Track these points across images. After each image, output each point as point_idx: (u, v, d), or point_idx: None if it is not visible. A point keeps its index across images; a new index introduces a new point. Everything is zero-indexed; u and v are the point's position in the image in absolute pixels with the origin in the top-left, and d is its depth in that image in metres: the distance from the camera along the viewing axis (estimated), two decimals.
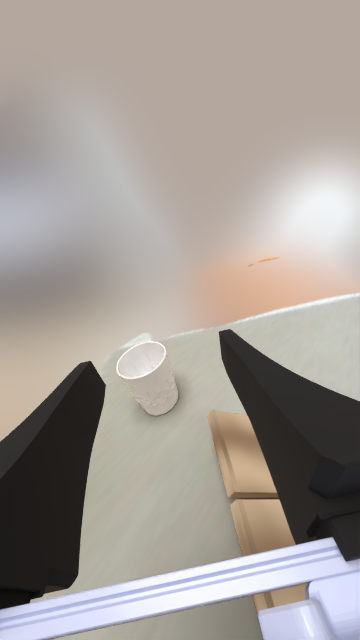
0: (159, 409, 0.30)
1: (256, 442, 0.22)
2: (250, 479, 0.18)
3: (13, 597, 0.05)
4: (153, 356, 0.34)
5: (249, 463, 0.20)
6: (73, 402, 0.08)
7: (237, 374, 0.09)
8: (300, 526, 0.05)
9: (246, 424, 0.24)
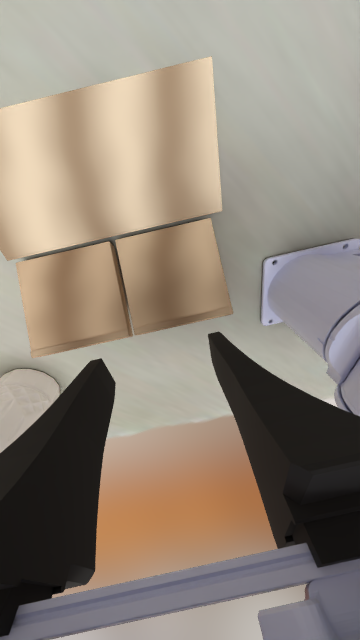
0: (49, 390, 0.23)
1: (62, 289, 0.16)
2: (111, 312, 0.15)
3: (36, 592, 0.05)
4: None
5: (93, 308, 0.15)
6: (86, 399, 0.08)
7: (224, 377, 0.09)
8: (280, 530, 0.05)
9: (38, 299, 0.16)
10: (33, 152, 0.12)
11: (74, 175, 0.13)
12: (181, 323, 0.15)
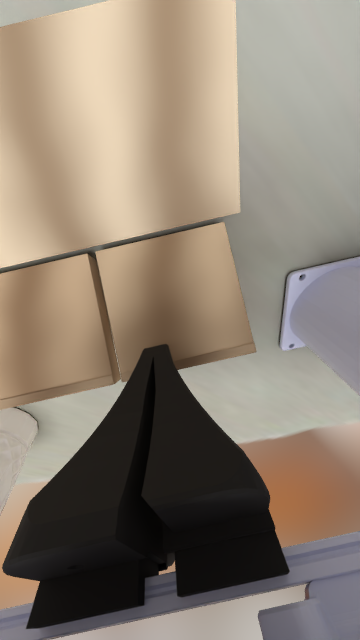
0: (23, 430, 0.19)
1: (23, 319, 0.11)
2: (90, 350, 0.11)
3: (151, 567, 0.05)
4: None
5: (66, 344, 0.11)
6: (152, 384, 0.08)
7: None
8: None
9: None
10: None
11: (30, 161, 0.09)
12: (185, 366, 0.11)
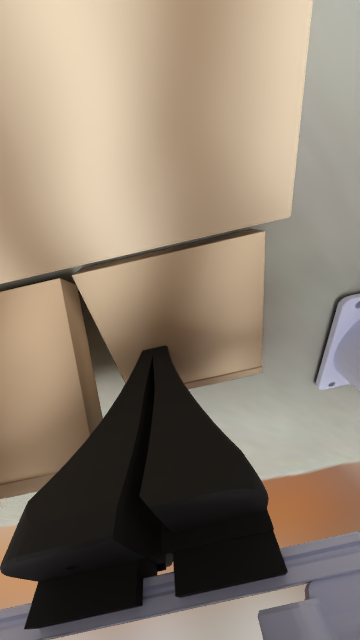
0: None
1: None
2: (62, 425, 0.07)
3: (149, 567, 0.05)
4: None
5: (26, 416, 0.08)
6: (152, 384, 0.08)
7: None
8: None
9: None
10: None
11: None
12: (194, 387, 0.12)
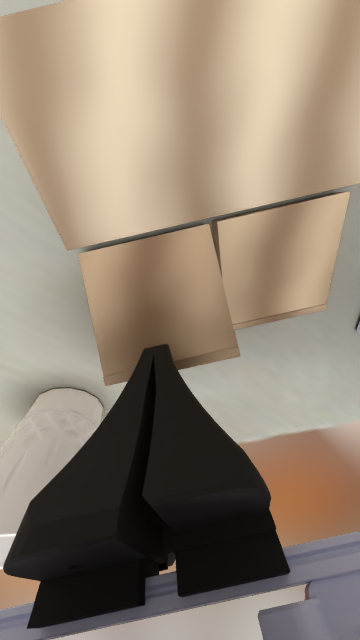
0: (95, 414, 0.19)
1: (145, 291, 0.11)
2: (215, 322, 0.11)
3: (151, 567, 0.05)
4: None
5: (189, 316, 0.11)
6: (153, 384, 0.08)
7: None
8: None
9: (111, 304, 0.11)
10: (131, 78, 0.08)
11: (183, 120, 0.09)
12: (274, 320, 0.15)
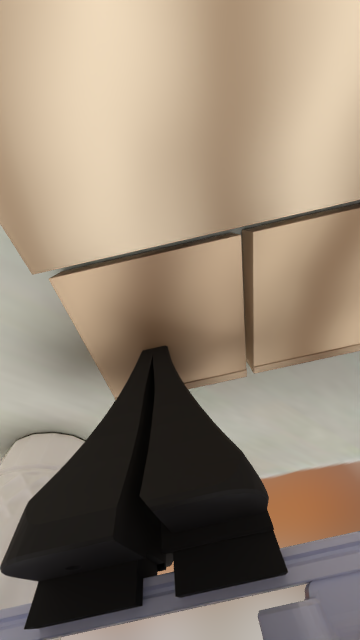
0: None
1: (151, 324, 0.09)
2: (228, 351, 0.10)
3: (149, 567, 0.05)
4: None
5: (201, 347, 0.10)
6: (152, 384, 0.08)
7: None
8: None
9: (111, 339, 0.09)
10: None
11: (213, 65, 0.05)
12: (317, 359, 0.11)
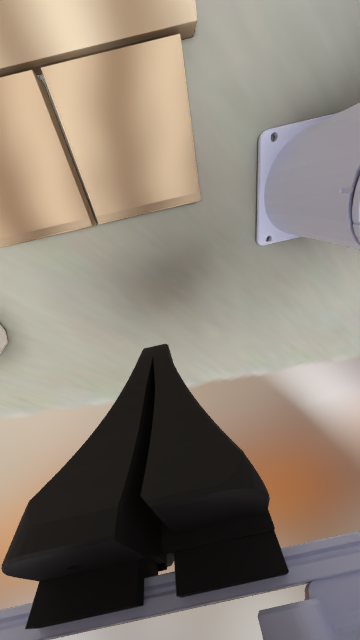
0: None
1: None
2: (65, 194, 0.14)
3: (150, 567, 0.05)
4: None
5: (42, 188, 0.13)
6: (152, 384, 0.08)
7: None
8: None
9: None
10: None
11: None
12: (147, 211, 0.14)
